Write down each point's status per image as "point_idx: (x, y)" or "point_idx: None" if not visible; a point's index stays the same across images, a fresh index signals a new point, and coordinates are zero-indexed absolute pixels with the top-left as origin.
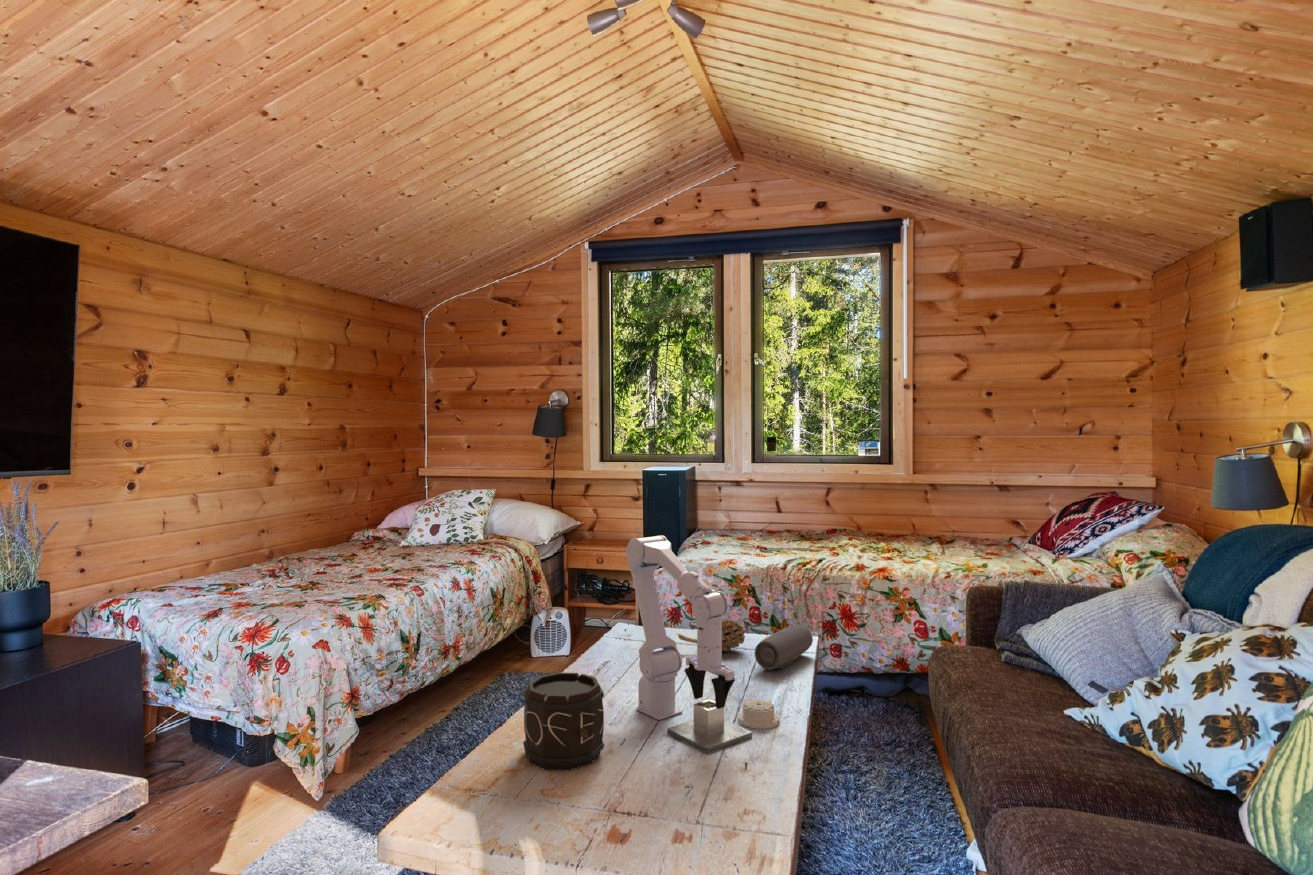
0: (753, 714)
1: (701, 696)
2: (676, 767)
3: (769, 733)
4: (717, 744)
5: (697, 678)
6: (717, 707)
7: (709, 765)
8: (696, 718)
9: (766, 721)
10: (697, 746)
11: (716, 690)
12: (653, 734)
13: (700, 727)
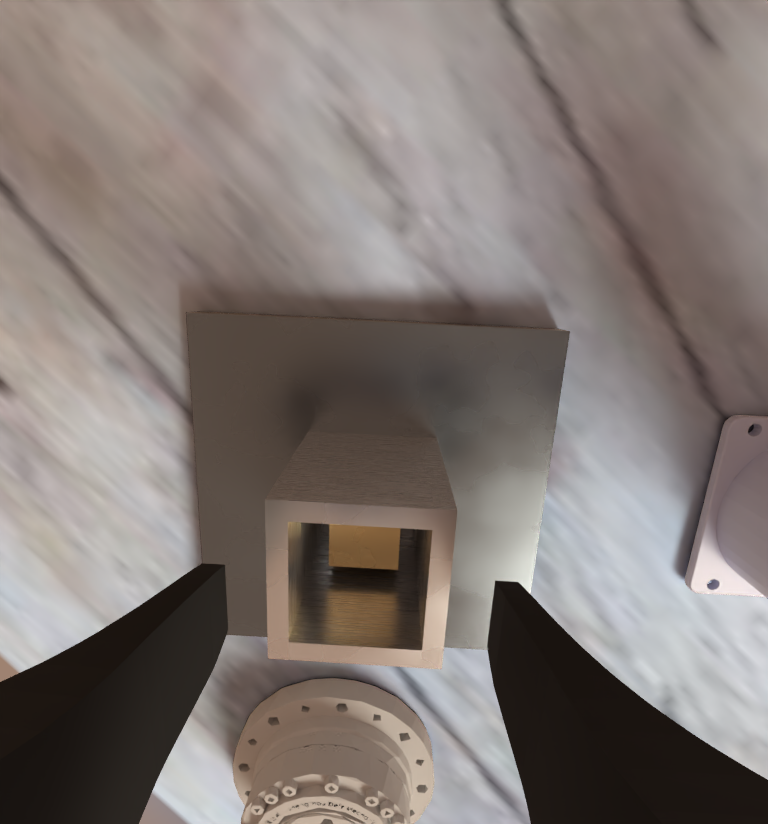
0: (292, 758)
1: (490, 643)
2: (158, 19)
3: (201, 693)
4: (192, 394)
5: (565, 799)
6: (201, 566)
7: (75, 208)
8: (413, 463)
9: (257, 758)
10: (279, 315)
11: (53, 678)
12: (609, 252)
13: (373, 445)
